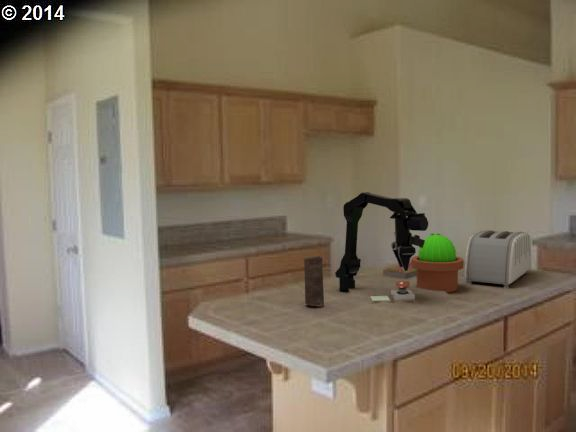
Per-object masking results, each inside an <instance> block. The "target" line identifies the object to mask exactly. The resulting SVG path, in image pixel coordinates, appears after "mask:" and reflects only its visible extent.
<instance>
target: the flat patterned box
mask: <svg viewBox="0 0 576 432" xmlns="http://www.w3.org/2000/svg"><path fill="white" fill-rule="evenodd" d="M381 271H382V276H383V277H389V278H396V279H403V280H406V279H410V278H413V277H417V269H414V268H412V266H411V260H410V262H409V266H408V270H407V271H405V270H404V268H403V267H400V266H399V264H397V265H392V266H390V267H389V266H388V267H386V268H383V269H381Z"/></svg>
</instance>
